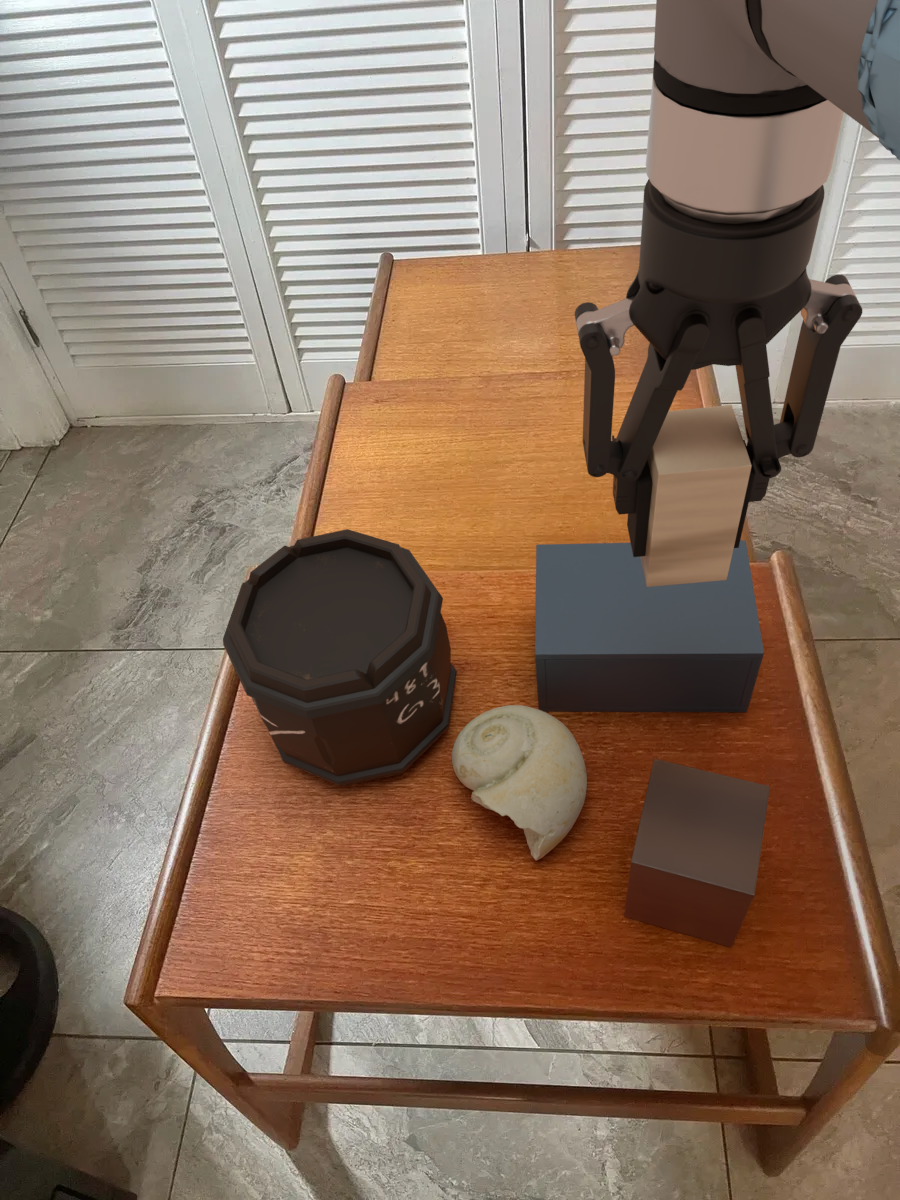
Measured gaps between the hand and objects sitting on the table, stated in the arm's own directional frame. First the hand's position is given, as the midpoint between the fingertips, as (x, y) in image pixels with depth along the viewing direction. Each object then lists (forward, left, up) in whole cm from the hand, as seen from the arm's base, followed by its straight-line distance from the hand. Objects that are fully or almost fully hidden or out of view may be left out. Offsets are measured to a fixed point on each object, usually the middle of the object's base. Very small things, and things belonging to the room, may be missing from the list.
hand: (681, 535), depth 57 cm
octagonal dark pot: (-4, +26, -27) cm, 38 cm away
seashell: (-8, +9, -27) cm, 29 cm away
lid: (+8, +3, -18) cm, 20 cm away
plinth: (-12, -5, -26) cm, 29 cm away
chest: (+8, +3, -26) cm, 28 cm away
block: (0, 0, -2) cm, 2 cm away
